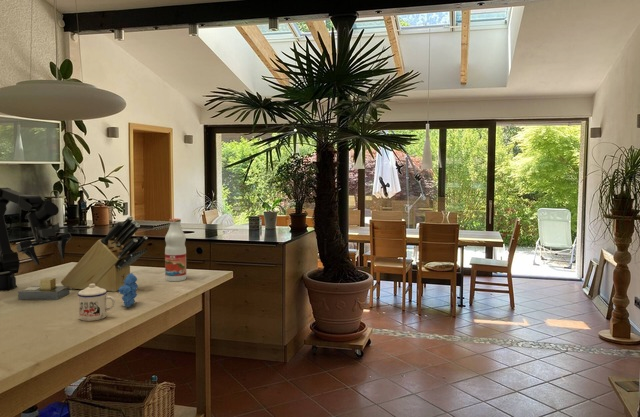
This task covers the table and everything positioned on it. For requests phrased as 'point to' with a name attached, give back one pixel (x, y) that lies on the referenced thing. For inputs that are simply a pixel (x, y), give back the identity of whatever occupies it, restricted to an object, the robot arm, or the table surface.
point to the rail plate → (43, 293)
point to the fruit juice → (175, 252)
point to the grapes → (129, 290)
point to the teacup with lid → (93, 303)
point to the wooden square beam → (47, 284)
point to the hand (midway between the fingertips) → (51, 262)
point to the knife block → (108, 259)
